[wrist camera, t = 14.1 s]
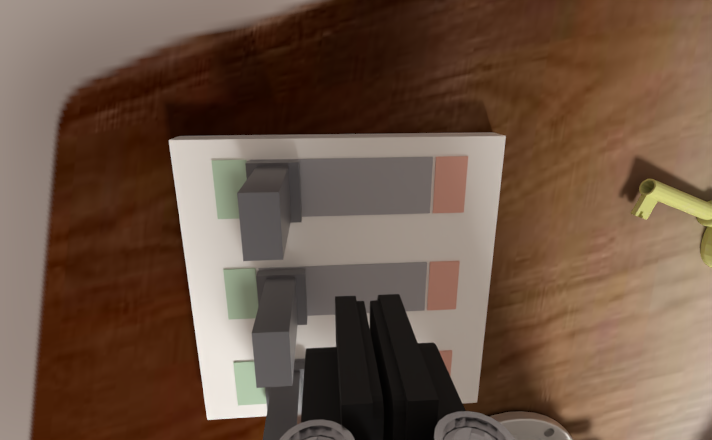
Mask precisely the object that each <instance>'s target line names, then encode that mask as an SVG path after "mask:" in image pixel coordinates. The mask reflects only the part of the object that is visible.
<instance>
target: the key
mask: <svg viewBox="0 0 712 440" xmlns="http://www.w3.org/2000/svg"><path fill="white" fill-rule="evenodd" d="M639 192H640V193H641V196H640V198H639V200H638V201H637V203H636V205H635V206H634V208H633V210H632V212H631V214H633V215H636V216H639V217H641V218H643V219H646V220H647V218H648V217H649V215H650V213H651V212H652V210H653V208H654V207H655V205H656V203H657V202H658V201H659V202H661V203H664V204H666V205H669V206H671V207H674V208H676V209H679V210H681V211H684V212H686V213H689V214H691V215H694V216H696V217H697V220H698V222H699V223H700V224H702V225H704V226H708V227H707V229H706V231H705V233H704V235H703V238H702V241H701V249H700V253H701V258H702V260H703V261H704V263H705V264H706V265H708V266H709V267H711V268H712V200H711V201H708V202H706V201H704V200H701V199H699V198H696V197H694V196H692V195H689V194H687V193H685V192H682V191H680V190H678V189H675V188H673V187H670V186H668V185H666V184H663V183H661V182H659V181H656V180H654V179H646V180H644V181H643V182H642V183H641V184H640V187H639Z"/></svg>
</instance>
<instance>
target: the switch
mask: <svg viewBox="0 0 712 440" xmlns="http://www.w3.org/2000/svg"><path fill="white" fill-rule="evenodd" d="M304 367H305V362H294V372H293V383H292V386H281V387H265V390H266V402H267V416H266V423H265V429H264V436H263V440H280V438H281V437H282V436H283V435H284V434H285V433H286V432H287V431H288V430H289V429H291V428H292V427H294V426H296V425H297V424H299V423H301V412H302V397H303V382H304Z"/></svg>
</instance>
